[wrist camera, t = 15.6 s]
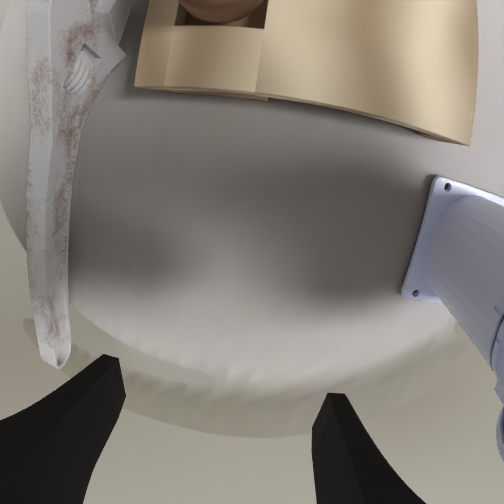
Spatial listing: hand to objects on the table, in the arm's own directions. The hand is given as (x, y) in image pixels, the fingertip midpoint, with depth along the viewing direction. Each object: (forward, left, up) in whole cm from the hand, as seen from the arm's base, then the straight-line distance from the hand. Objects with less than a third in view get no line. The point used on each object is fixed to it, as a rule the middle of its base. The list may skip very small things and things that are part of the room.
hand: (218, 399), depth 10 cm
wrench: (+12, -3, -10) cm, 16 cm away
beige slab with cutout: (-2, -19, -10) cm, 21 cm away
